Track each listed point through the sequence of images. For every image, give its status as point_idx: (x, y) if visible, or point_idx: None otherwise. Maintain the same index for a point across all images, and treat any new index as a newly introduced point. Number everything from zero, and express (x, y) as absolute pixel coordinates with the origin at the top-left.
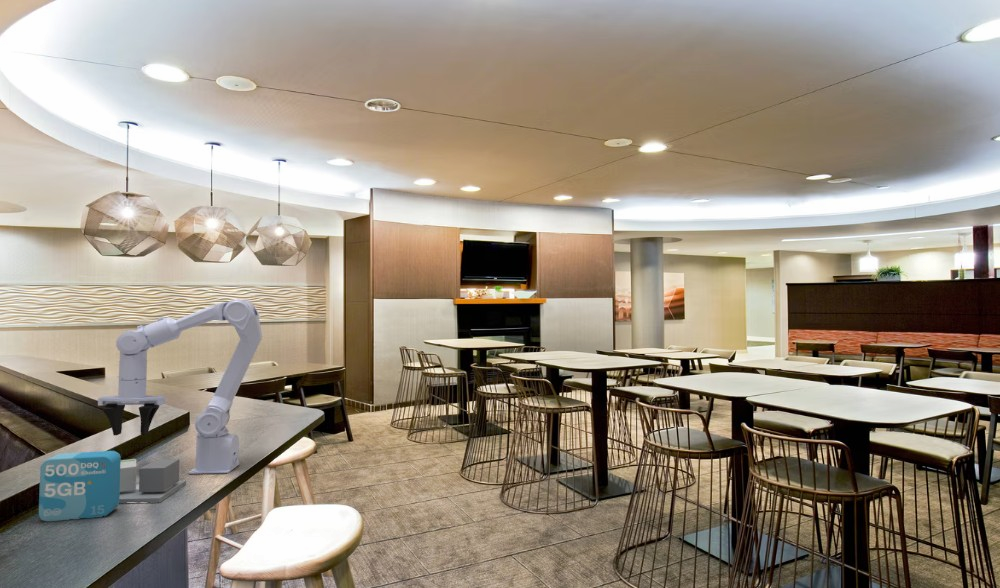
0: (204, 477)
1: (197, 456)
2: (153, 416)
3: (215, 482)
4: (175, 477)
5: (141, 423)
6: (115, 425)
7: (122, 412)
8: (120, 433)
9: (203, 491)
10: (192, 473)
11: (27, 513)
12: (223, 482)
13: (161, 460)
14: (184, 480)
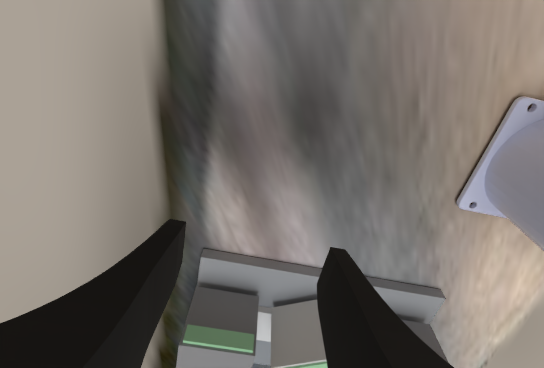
0: (495, 242)
1: (520, 225)
2: (412, 337)
3: (514, 289)
4: None
5: (330, 359)
6: (159, 317)
7: (124, 327)
8: (184, 227)
9: (474, 337)
10: (467, 209)
11: (157, 363)
12: (533, 294)
13: None
14: (441, 298)
